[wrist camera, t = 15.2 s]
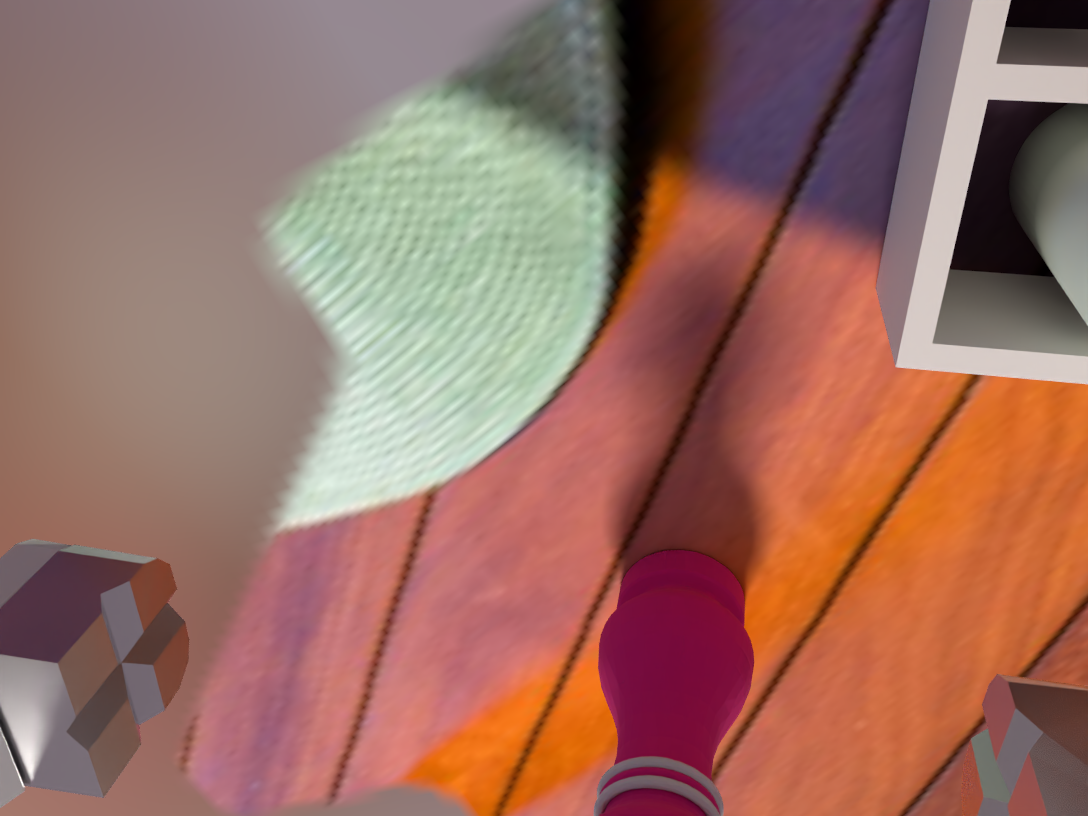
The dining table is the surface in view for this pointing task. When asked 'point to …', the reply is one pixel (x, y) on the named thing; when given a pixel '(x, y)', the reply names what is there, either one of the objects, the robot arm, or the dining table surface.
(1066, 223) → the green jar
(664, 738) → the pepper mill
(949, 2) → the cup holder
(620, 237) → the dining table surface
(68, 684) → the robot arm
